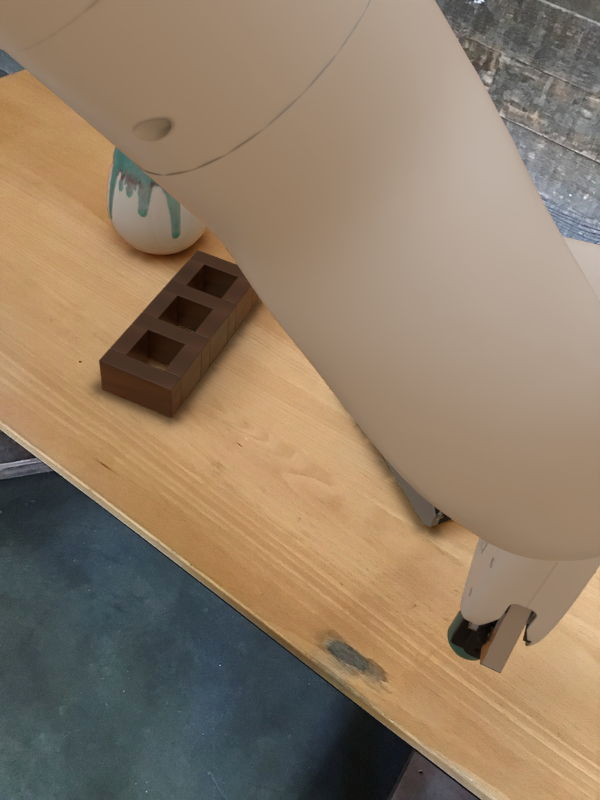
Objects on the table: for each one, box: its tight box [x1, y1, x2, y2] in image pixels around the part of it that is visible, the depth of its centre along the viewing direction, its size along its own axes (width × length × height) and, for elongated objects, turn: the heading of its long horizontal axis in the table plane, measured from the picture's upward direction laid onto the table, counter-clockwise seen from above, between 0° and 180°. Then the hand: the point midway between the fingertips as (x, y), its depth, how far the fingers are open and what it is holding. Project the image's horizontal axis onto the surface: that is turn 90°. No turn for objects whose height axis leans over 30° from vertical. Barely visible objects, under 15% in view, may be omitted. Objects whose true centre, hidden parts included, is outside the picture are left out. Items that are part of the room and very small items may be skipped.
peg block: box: [98, 249, 259, 419], centre depth 77 cm, size 19×8×4 cm, turn 157°
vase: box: [106, 146, 207, 256], centre depth 83 cm, size 12×12×18 cm
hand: (480, 623), depth 53 cm, fingers closed on peg, 3 cm apart
